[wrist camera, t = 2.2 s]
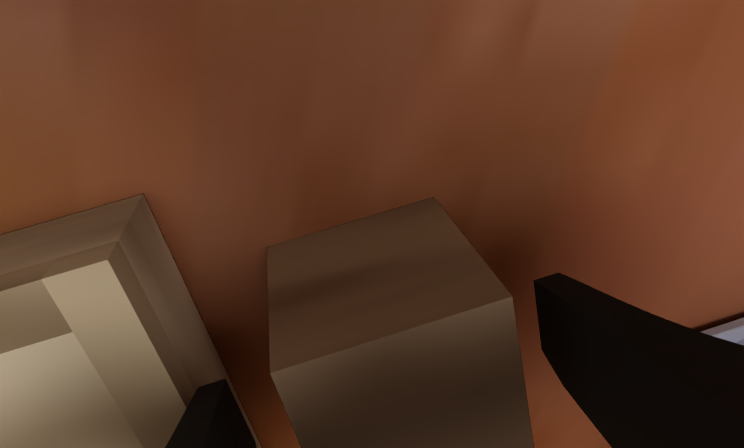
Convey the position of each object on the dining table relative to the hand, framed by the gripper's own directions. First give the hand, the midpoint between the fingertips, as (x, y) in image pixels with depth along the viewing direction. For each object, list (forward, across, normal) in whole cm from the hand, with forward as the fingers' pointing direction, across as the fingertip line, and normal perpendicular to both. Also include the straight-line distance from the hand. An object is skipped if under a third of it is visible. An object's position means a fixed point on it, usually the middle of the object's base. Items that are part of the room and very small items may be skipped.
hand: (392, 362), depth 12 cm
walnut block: (+3, 0, 0) cm, 3 cm away
